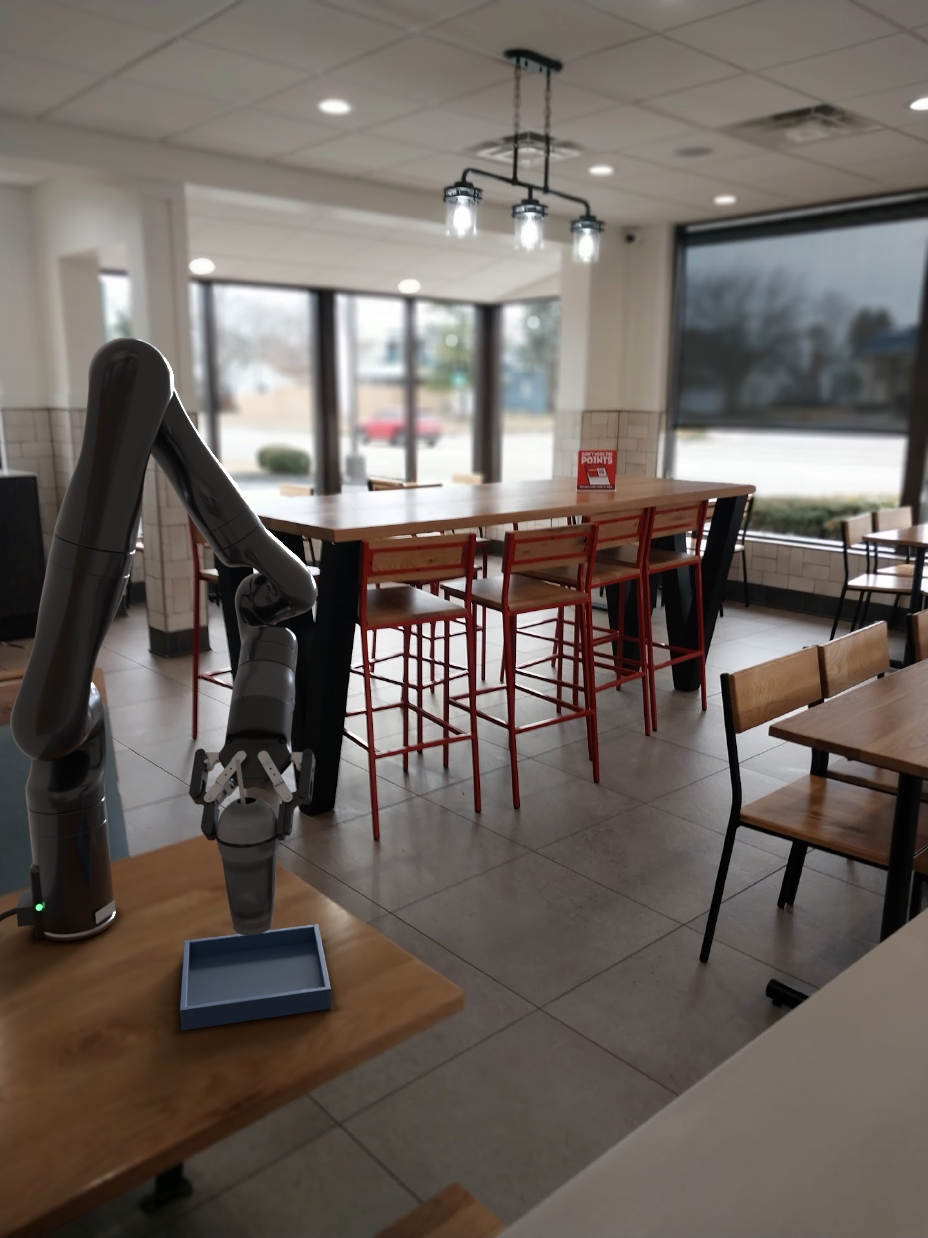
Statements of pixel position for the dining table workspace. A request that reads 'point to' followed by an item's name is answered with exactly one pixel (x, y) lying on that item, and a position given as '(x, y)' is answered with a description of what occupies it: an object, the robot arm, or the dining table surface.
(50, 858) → the robot arm
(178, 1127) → the dining table surface
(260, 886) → the beverage cup
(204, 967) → the tray
